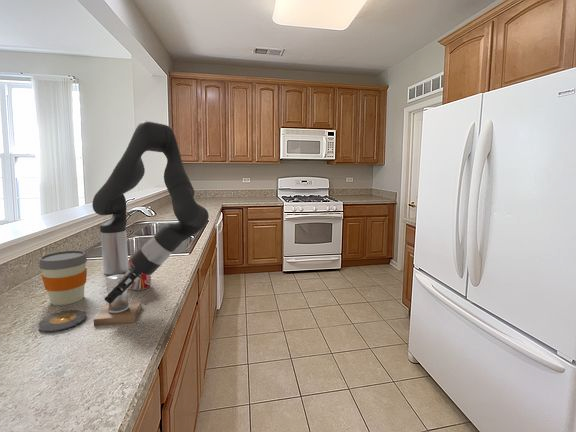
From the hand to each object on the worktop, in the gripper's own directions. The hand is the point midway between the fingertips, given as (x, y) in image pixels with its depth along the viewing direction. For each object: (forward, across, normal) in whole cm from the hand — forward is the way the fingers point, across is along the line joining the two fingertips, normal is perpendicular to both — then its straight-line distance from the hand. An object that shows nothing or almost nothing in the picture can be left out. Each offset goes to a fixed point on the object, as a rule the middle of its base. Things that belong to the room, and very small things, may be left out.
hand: (111, 296), depth 91 cm
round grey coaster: (+13, +1, -4) cm, 14 cm away
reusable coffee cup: (+17, -16, -8) cm, 25 cm away
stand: (+3, 0, +6) cm, 7 cm away
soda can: (+3, -22, +6) cm, 23 cm away
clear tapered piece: (+2, 0, +4) cm, 5 cm away
